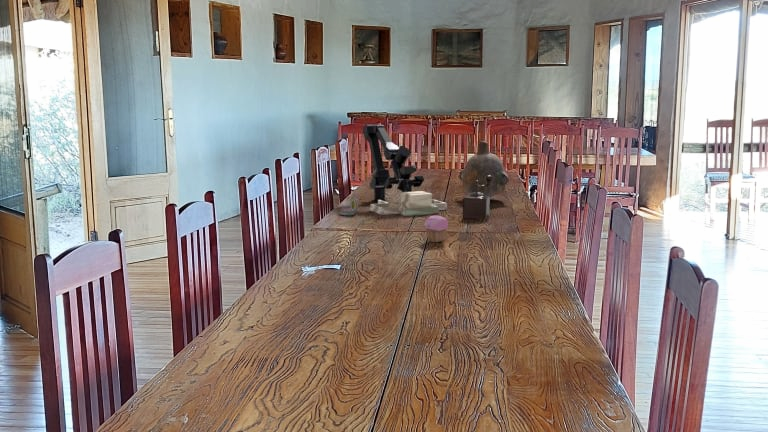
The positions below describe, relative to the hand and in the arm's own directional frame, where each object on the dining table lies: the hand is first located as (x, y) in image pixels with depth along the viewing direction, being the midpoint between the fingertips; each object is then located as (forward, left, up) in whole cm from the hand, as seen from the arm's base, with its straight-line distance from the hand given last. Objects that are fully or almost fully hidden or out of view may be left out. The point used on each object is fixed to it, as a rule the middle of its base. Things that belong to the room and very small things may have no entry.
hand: (410, 196), depth 352 cm
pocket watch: (+18, -24, -7) cm, 31 cm away
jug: (-39, +30, -7) cm, 50 cm away
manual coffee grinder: (+6, +32, -7) cm, 33 cm away
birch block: (+4, +3, -7) cm, 8 cm away
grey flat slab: (-2, -2, -7) cm, 7 cm away
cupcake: (+63, +22, -7) cm, 67 cm away
